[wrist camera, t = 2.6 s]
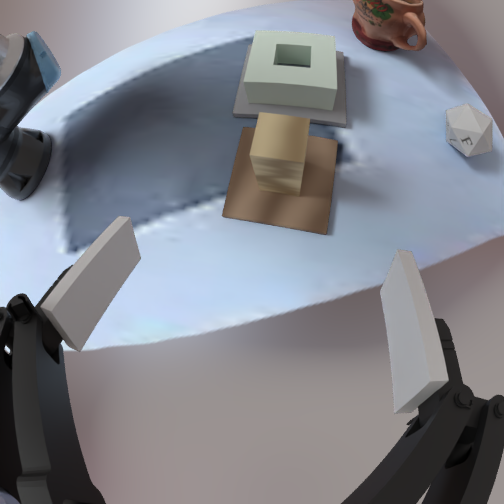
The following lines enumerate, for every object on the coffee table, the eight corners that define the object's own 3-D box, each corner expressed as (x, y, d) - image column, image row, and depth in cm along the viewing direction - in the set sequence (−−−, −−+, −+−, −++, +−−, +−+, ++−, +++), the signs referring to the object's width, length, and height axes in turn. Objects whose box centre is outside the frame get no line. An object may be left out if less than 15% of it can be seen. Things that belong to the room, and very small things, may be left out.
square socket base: (233, 117, 37) (225, 92, 31) (249, 48, 39) (244, 24, 33) (345, 127, 35) (353, 103, 29) (342, 55, 37) (346, 31, 31)
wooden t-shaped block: (223, 217, 36) (198, 189, 25) (244, 130, 37) (229, 81, 26) (325, 235, 34) (342, 212, 23) (336, 144, 35) (351, 96, 24)
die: (427, 118, 34) (448, 121, 26) (461, 95, 30) (487, 94, 22) (452, 159, 36) (475, 172, 28) (484, 136, 31) (511, 145, 23)
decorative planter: (434, 76, 34) (462, 28, 21) (385, 82, 35) (409, 23, 21) (376, 14, 37) (387, -32, 24) (328, 17, 38) (332, -36, 25)
